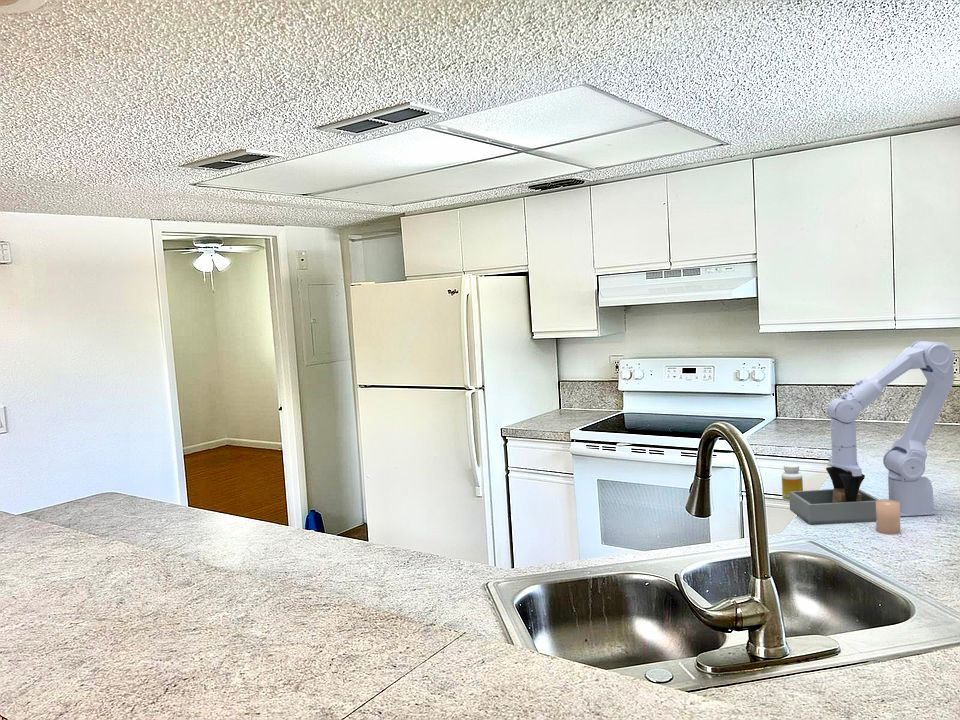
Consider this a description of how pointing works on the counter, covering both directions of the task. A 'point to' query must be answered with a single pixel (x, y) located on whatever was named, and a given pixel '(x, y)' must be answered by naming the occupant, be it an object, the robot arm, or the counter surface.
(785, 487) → the supplement bottle
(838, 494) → the walnut cube
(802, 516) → the tote
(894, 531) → the terracotta cylinder
